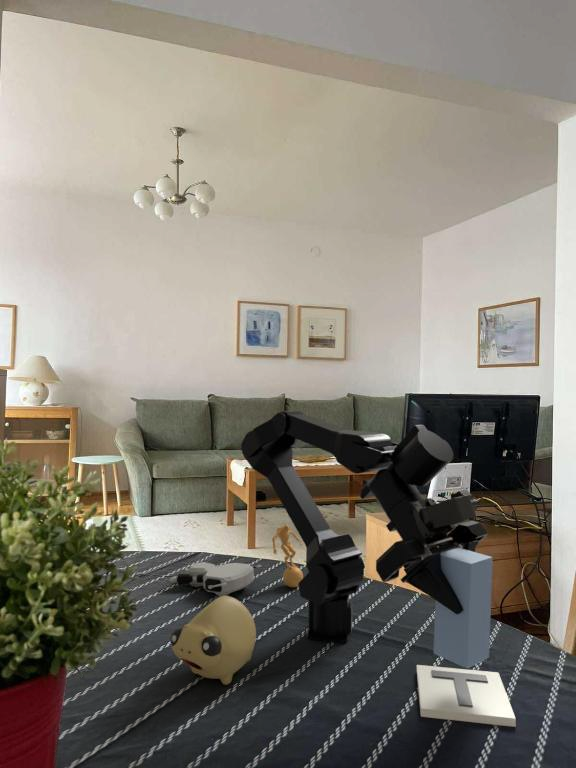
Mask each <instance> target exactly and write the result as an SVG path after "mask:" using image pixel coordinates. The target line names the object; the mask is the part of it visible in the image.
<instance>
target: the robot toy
mask: <svg viewBox="0 0 576 768" xmlns="http://www.w3.org/2000/svg"><path fill="white" fill-rule="evenodd" d="M261 567H262V565H261V564H258V565H255V566H252V565H251V564H249V563H248V564H247V563H239V562H233V563H232V562H231V563H225V564H222V565H218V566H216V565H215V564H214V563H212V562H204V561H203V562H197V563H194V564H192V565H190V566H188V567H185V568H184V573H179V574H177V576H175V575H174V576H171V577H170V578H169V582H170V583H177V585H179V586H180V585H191V586H192V587H193V586H195V588H199V587H203V589H204V590H205V591H206V592H209V593H214V594H215V595H216V596H218V597H221V596H229V595H230V594H232V593H234V592H236V591H237V592H238V591H239V590H242V589H244V588H246V587H248V586H249V585H250V584H251V583H252V582H253V581H254V580H255V572H254V571H255V570H254V569H256V568H261Z"/></svg>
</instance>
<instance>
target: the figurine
mask: <svg viewBox="0 0 576 768" xmlns="http://www.w3.org/2000/svg"><path fill="white" fill-rule="evenodd" d="M290 535H292V536H293V537H294V539H295V540H296V541H297V542H298V543H299V545H300V546H302V543H301V541H300V539H299V537H298V536H297V535H295V533H294V531H292V530H290V527H289V525H288V524H285V525H284V526H279V527H277V529H276V533H275V534H274V535H273V537H272V540H271V541H272V546H273V547H272V549H273V555H275V556H276V555H277V554H278V550H277V549H276V539H277V538H279V539H280V542H281V546H280V548H281V550H282V552H283V553H284V555H285V556H284V563H285V565H286V566H287V568H286V569H284V572H283V575H282V580H283V583H284V584H285V585H286V586H288V587H289V588H298V587H299V586H298V583H299V582H300V581H301V580H302V579H303V578H304V574H303V571H302V570H301V569H300V568H299V567H298V565H296V564H295V563H294V562H293V560H292V559H293V558H294V557H295V556H296V553H297V552H296V550H295V549H294V547H293V545H292V542H290V541H289V539H290ZM288 560H289V562H290V563H289V562H288Z"/></svg>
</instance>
